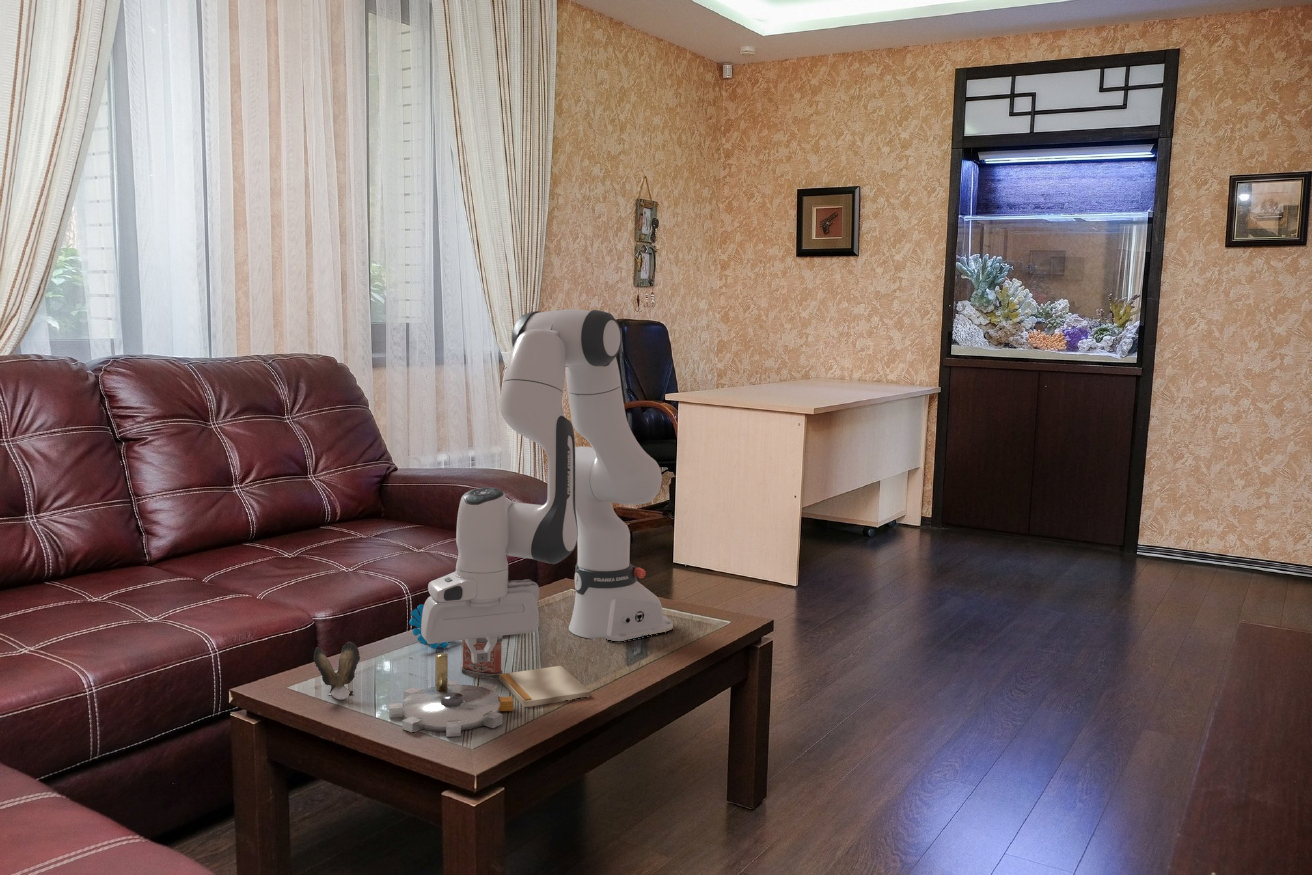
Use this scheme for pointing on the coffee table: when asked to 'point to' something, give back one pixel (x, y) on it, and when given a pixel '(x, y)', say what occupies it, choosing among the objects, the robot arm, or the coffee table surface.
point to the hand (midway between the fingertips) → (480, 661)
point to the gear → (418, 624)
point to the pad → (543, 686)
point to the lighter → (483, 668)
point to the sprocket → (450, 705)
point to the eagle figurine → (344, 672)
